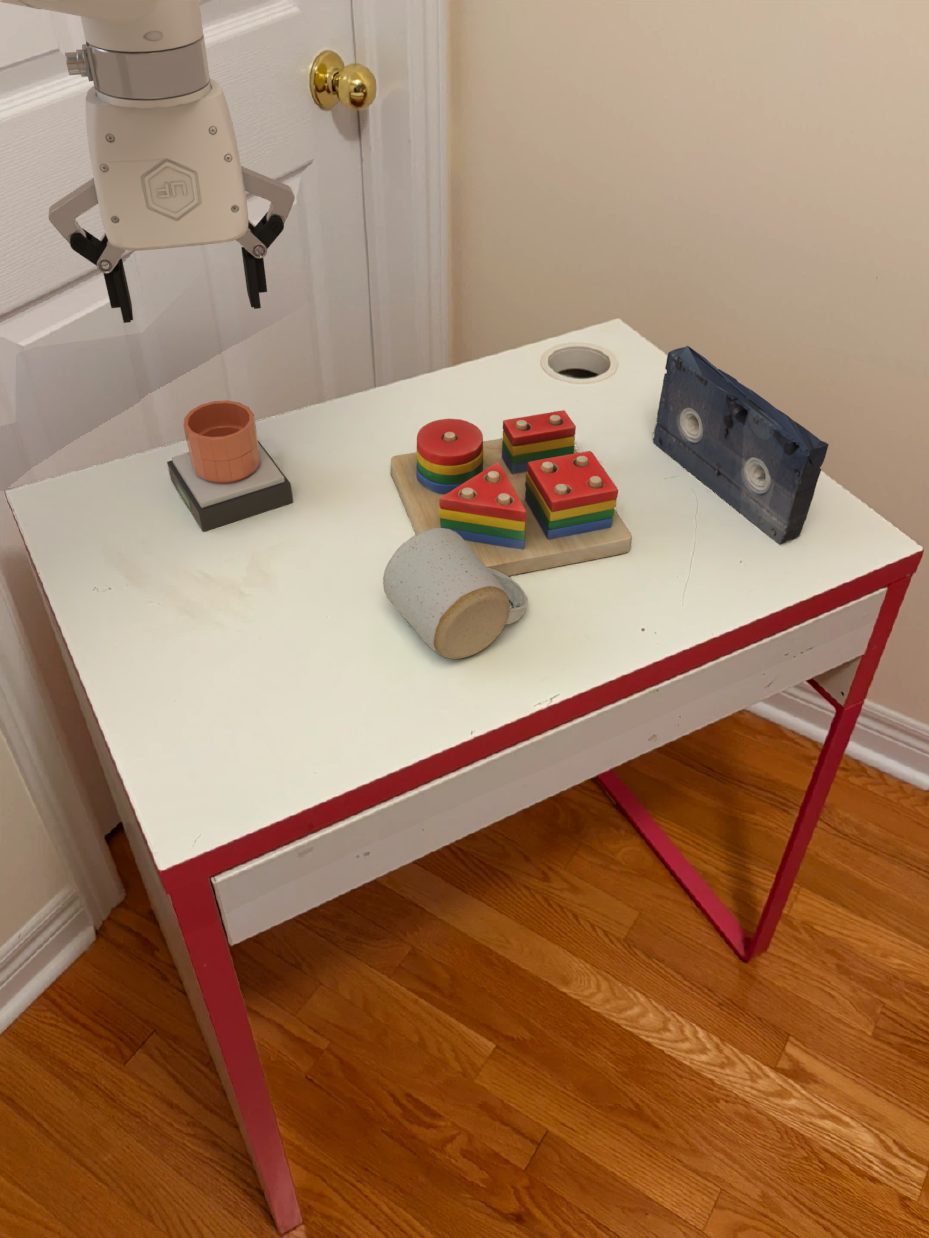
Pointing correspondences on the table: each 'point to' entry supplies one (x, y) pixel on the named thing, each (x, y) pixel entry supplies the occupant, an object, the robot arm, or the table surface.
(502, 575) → the ceramic mug
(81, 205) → the robot arm
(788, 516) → the vhs cassette tape
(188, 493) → the scale
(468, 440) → the shape sorter
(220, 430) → the terracotta pot
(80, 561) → the table surface
